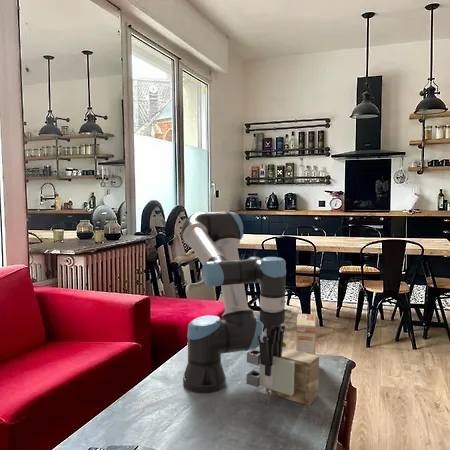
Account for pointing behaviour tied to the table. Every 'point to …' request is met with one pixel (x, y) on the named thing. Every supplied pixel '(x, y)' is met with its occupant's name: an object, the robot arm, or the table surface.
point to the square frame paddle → (281, 373)
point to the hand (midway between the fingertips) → (270, 383)
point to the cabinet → (298, 379)
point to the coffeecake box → (306, 333)
